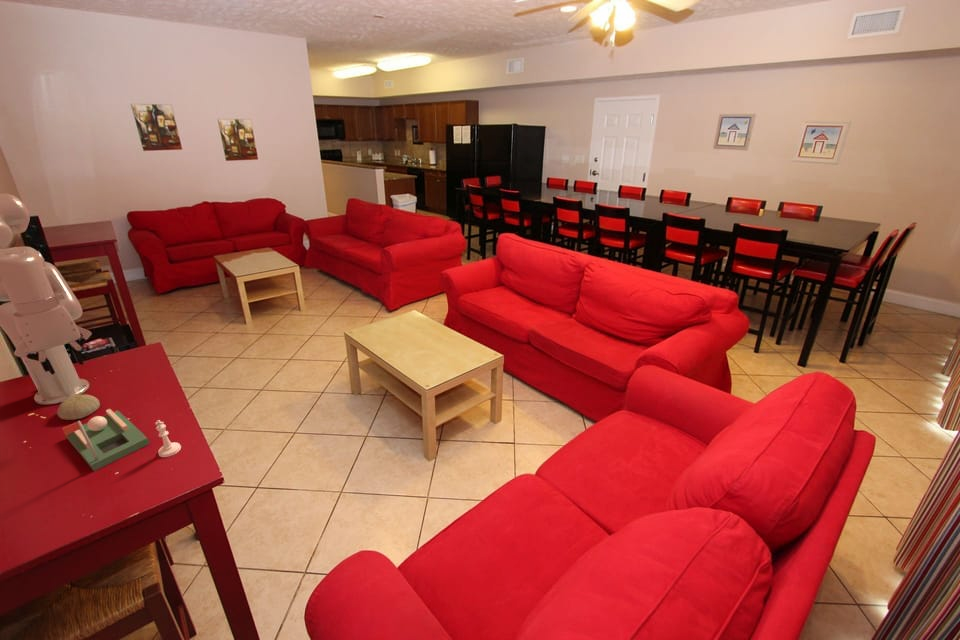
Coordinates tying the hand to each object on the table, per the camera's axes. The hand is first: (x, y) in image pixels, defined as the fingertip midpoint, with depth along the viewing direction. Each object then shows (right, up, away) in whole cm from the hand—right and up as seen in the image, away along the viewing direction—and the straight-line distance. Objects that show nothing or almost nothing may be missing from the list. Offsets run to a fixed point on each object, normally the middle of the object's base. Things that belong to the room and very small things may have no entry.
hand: (66, 366), depth 111 cm
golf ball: (+5, -16, +3) cm, 17 cm away
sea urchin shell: (-9, -15, +14) cm, 22 cm away
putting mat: (+9, -20, +3) cm, 22 cm away
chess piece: (+27, -22, 0) cm, 35 cm away
